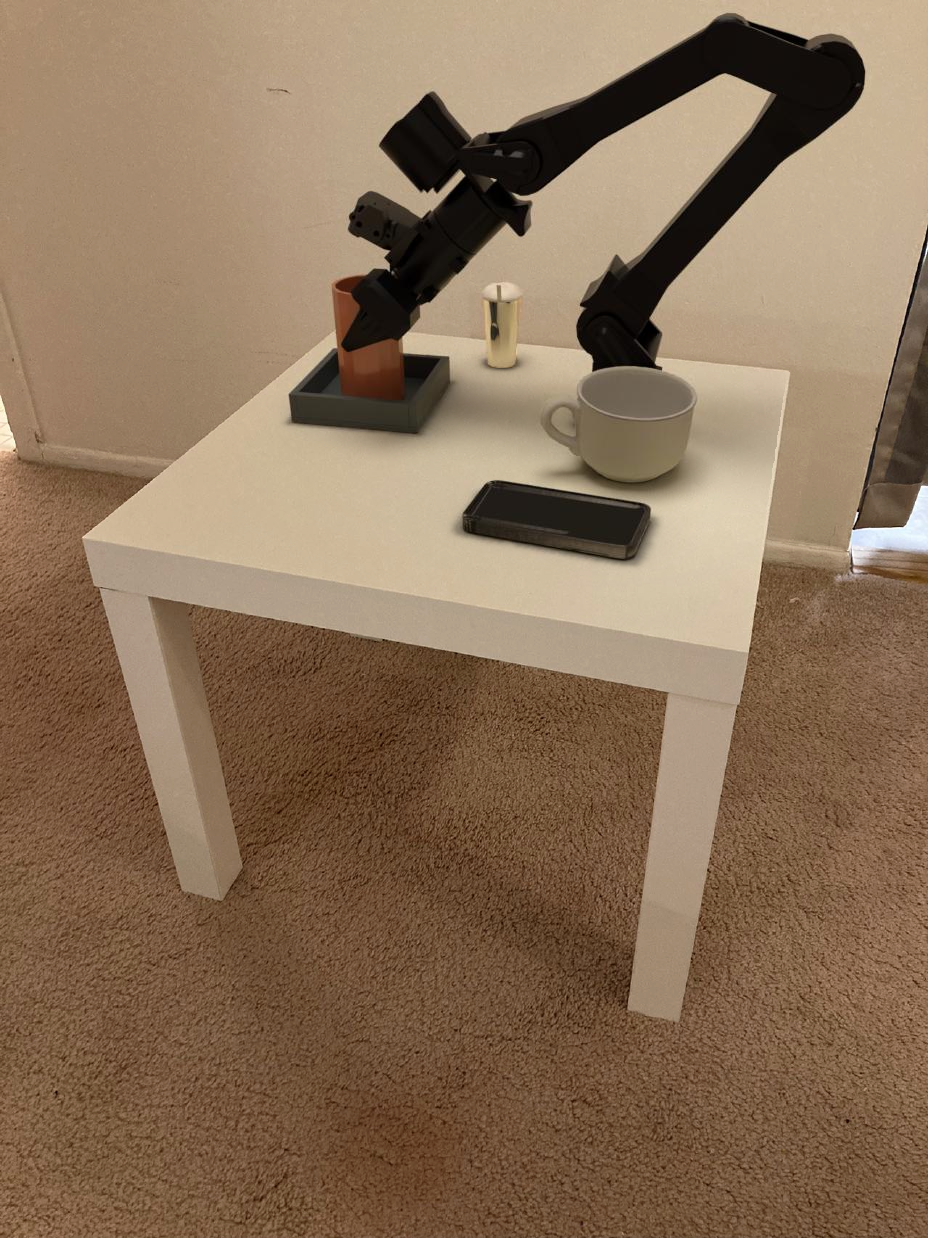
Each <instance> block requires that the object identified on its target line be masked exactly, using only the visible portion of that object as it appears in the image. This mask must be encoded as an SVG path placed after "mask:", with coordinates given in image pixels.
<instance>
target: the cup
mask: <svg viewBox="0 0 928 1238" xmlns="http://www.w3.org/2000/svg"><path fill="white" fill-rule="evenodd" d="M367 274H368V273H366V274H355V275H348V276H345V277H342V278H339V279H336V280H335V281H334V282H333V283H331V284H330V285H331V297H332V307H333V319H334V329H335V339H336V348H337V352H338V362H339V373H340V384H341V394H342V396H353V397H365V398H377V399H390V400H403V399H404V397H405V379H404V360H403V353H404V343H403V337H402V338H401V339H400V340H399V341H396V340H393V339H392V338H391V339H388V340H385V341H381V342H378V343H375V344H372V345H369V346H366V347H363V348H360V349H357V350H354V351H351V352H346V351H345V350H344V349H343V348H342V347H341V343H342V341H343V339H344V337H345V335H346V333H347V332H348V330H349V328H350V326H351V324H352V323H353V321H354V319H355V317H356V315H357V313H358V311H359V304H358V303H357V302H356V301H355V300H354V299H353V298H352V295H351V291H352V290H353V289H354V288H355V287H356V285H357V284H358V283H359V282H360V281H361V280H362V279H363V278H364V277H365V276H366V275H367Z"/></svg>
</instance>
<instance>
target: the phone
mask: <svg viewBox="0 0 928 1238" xmlns="http://www.w3.org/2000/svg"><path fill="white" fill-rule="evenodd" d="M651 513H652V508H651V506H650V505H649V504H647V503H645V502H640V501H635V500H634V501H633V500H627V499H621V498H614V497H609V496H602V495H596V494H589V493H584V492H583V493H582V492H576V491H570V490H565V489H564V490H563V489H557V488H553V487H552V488H551V487H545V486H540V485H534V484H527V483H521V482H514V481H508V480H500V479H493V480H489V481H487V482H485V483H484V484H483V485H482V487H481V488H480V490H479V491H478V492H477V493H476V495H475V496H474V498H473V499H472V500H471V501H470V502H469V504H468V505H467V507H466V508H465V510H464V511H463V512H462V528H463V530H464V531H466V532H469V533H473V534H479V535H485V536H489V537H496V538H501V539H507V540H512V541H517V542H518V541H519V542H524V543H530V544H535V545H541V546H546V547H553V548H558V549H563V550H569V551H575V552H581V553H587V554H592V555H597V556H602V557H608V558H615V559H630V558H633V557H634V556H635V555H636V554H637V552H638V549H639V547H640V544H641V542H642V541H643V539H644V536H645V534H646V531H647V529H648V527H649V524H650V522H651V515H652V514H651Z"/></svg>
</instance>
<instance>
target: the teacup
mask: <svg viewBox="0 0 928 1238" xmlns="http://www.w3.org/2000/svg"><path fill="white" fill-rule="evenodd" d="M576 395H577V399H576V398H575V397H573V396H570V395H567V394H557V395H553V396H552V397H550V398H549V399H548V400H547V401H545V403H544V404H543V406H542V408H541V410H540V415H539V420H540V425H541V427H542V429H543V431H544V432H545V434H547V436H548V437H549V438H550V439H551V440H553V441H554V442H556V443H558V444H559V445H562V446H563V447H566V448H568V449H569V451H570V453H571V454H572V455H574V456H580V458H582V460H583V461H584V462H585V463H586V464H587V465H588V466H589V467H591V468H592V469H593V470H594V471H595V472H596V473H598V474H599V475H601V476H602V477H604V478H606V479H609V480H612V481H616V482H620V483H621V482H622V483H631V484H632V483H643V482H644V483H645V482H648V481H651V480H654V479H657V478H658V477H660V476H662V475H663V474H665V473H668V472H669V471H671V470H673V468H675V467H676V466H677V465H678V464H679V463H680V461H681V460H682V458H683V457H684V454H685V453H686V450H687V446H688V443H689V438H690V434H691V428H692V421H693V416H694V409H695V406H696V404H697V402H698V401H697V400H698V395H697V391H696V389H695V387H694V386H693V385H691V384H690V383H689V381H687V380H685V379H683V378H682V377H681V376H678V375H676V374H673V373H670V372H668V371H664V370H662V371H661V370H657V369H653V368H646V367H636V366H620V367H611V368H605V369H600V370H597V371H594V372H592V371H591V372H590V373H588V374H586V375H585V376H583V377H582V378H581V379H580V380H579V382H578V384H577V386H576ZM564 408H565V409H568V410H569V411H570V412H571V415H572V419H573V421H574V423H575V424H574V425H575V426H574V427H575V428H574V434H575V435H574V436H573V435H571V434H567V433H565V432H563V431H560V430H559V429H558V428H557V427H556V426H555V425H554V424H553V422H552V419H553V415H554V413H555V412H556V411H557V410H559V409H564Z"/></svg>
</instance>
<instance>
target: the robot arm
mask: <svg viewBox="0 0 928 1238" xmlns="http://www.w3.org/2000/svg"><path fill="white" fill-rule="evenodd" d="M865 67H866V66H865V64H864V60H863V58H862V56H861V54H860V53H859V50H858V49H857V48H856V46H855V45H854V43H853V42H852V41H851V40H850V39H848V38H846V37H845V36H844V35H841V34H836V33H832V32H831V33H824V34H818V35H816V36H813V37H811V38H809V39H808V38H805V37H802V36H799V35H797V34H794V33H790V32H788V31H783V30H780V29H777V28H774V27H771V26H766V25H763V24H760V23H757V22H754V21H751V20H748V19H746V18H745V16H742V15H740V14H739V13H736V12H725V13H723V14H721V15H718V16H716V17H715V18H714V19H712V21H711V22H709V23H708V24H707V25H706V26H705V27H703V28H701V29H700V30H698V31H697V32H694V33H693V34H691V35H690V36H688V37H686V38H684V39H683V40H681V41H679V42H677V43H676V44H674V45H672V46H671V47H669V48H667V49H666V50H664V51H662V52H661V53H659V54H657V55H655V56H654V57H652V58H650V59H648V60H647V61H645V62H644V63H643V62H642V64H640V65H638V66H636V67H634V68H632V69H631V70H629V71H628V72H626V73H624V74H622V75H621V76H619V77H617V78H616V79H614V80H612V81H610V82H609V83H607V84H605V85H603V86H602V87H600V88H598V89H597V90H595V91H593V92H591V93H590V94H588V95H584V96H583V97H580V98H577V99H574V100H571V101H568V102H565V103H564V102H563V103H561V104H557V105H555V106H551V107H547V108H546V109H543V110H540V111H537V112H534V113H532V114H531V113H530V114H529V115H526V116H524V117H522V118H520V119H518V120H517V121H516V122H515V123H513V125H511V126H510V127H509V128H507V129H506V130H497V131H492V132H487V131H484V132H482V133H478V134H477V135H475V136H474V137H472V136H471V135H470V134H469V132H467V131H466V130H465V128H464V127H463V126H462V125H461V124H460V123H459V121H458V120H457V119H456V118H455V116H454V115H453V114H452V113H451V112H450V111H449V110H448V108H447V106H446V104H445V103H444V101H443V100H442V98H441V97H440V96H439V95H438V94H437V92H436V91H433V90H431V91H429V92H427V93H426V94H424V95H423V96H422V98H421V99H420V100H419V101H418V102H417V103H416V104H415V105H414V106H413V107H412V108H411V109H410V110H409V111H408V112H406V114H405V115H404V116H403V117H402V118H400V119H398V120H397V121H396V122H395V123H394V124H393V125H392V126H391V127H390V128H389V129H388V131H387V132H386V134H385V135H384V136H383V137H382V139H381V141H380V142H379V144H378V147H379V149H380V150H381V151H382V152H383V153H384V154H385V155H386V156H387V157H388V158H389V160H390V161H391V162H392V163H393V164H394V165H395V166H396V168H397V169H398V170H399V171H400V172H401V173H402V174H403V175H404V176H405V177H406V178H407V179H408V181H409V182H410V183H411V184H412V185H413V186H414V188H416V190H417V191H419V193H420V194H422V193H424V192H425V193H426V194H429V193H430V192H431V191H432V190H433V192H434V193H435V194H436V195H438V194H440V192H441V191H443V189H444V188H445V187H447V186H448V185H449V183H450V182H452V181H453V179H454V178H455V177H456V176H457V175H458V174H459V173H460V172H462V174H463V175H464V176H463V177H462V178H461V179H460V180H459V181H458V183H457V184H456V185H455V186H454V187H453V188H452V189H451V190H450V191H449V192H448V193H447V195H445V197H444V198H443V199H442V200H441V201H440V202H439V203H438V204H437V205H436V206H435V208H434V209H433V210H431V209H429V210H428V211H427V212H426V213H424V215H423V216H422V217H420V216H418V215H417V214H415V213H414V212H412V211H411V210H409V208H406V207H405V206H403V205H401V204H400V203H398V202H396V201H394V200H392V199H390V198H388V197H387V196H385V195H383V194H381V193H379V192H377V191H373V190H368V191H366V192H365V193H364V194H363V195H361V196H360V197H358V198H357V200H356V204H355V207H354V209H353V211H351V212H350V213H349V214H348V220H349V224H348V226H347V232H349V234H351V235H352V236H353V237H356V238H361V239H364V240H365V241H367V242H368V243H371V244H372V245H374V246H377V247H378V248H380V249H382V250H385V251H387V254H386V255H385V256H384V257H383V259H384V260H385V261H386V262H387V263H388V264H389V269H387V268H377V267H376V268H374V267H373V269H371V270H370V271H369V272H368V273H366V274H367V275H366V276H365V277H364V278H363V279H362V280H361V281H360V282H359V283H358V284H357V285H356V287H355V288H354V289H353V290H352V291H351V295H352V298H353V299H354V300H355V301H356V302H357V303H358V304H359V311H358V313H357V315H356V317H355V319H354V321H353V323H352V324H351V326H350V328H349V330H348V332H347V333H346V335H345V337H344V339H343V341H342V343H341V347H342V348H343V349H344V350H345V351H346V352H351V351H354V350H357V349H360V348H363V347H366V346H369V345H372V344H375V343H378V342H381V341H385V340H388V339H391V338H392V339H393V340H396V341H399V340H400V339H401V338H402V339H403V337H404V336H406V334H407V333H408V332H409V331H410V330H411V329H412V328H413V327H414V326H415V324H417V322H419V321H418V320H420V318H421V306H423V305H425V304H427V303H429V304H430V303H431V302H432V301H433V300H434V299H435V298H436V297H437V296H438V295H439V294H440V292H441V291H443V289H445V288H446V287H447V285H449V283H451V281H452V280H453V279H454V278H455V277H456V276H458V275H459V274H460V273H461V272H462V271H463V270H464V269H465V268H466V266H467V265H468V264H469V263H470V262H471V260H472V259H473V258H475V256H476V255H477V254H478V253H479V252H481V250H482V249H483V248H485V246H486V245H487V244H488V243H489V242H490V241H491V240H492V239H494V237H495V236H496V235H497V234H498V233H499V232H500V231H502V229H503V228H504V227H505V226H506V225H507V226H508V227H510V228H511V229H512V231H513V232H514V233H515V234H516V235H517V236H518V237H520V238H522V237H524V236H525V235H526V233H527V232H528V231H529V230H530V228H531V227H532V215H531V213H532V212H531V211H532V207H533V203H534V202H533V201H532V200H531V199H528V200H525V199H520V198H517V196H520V197H527V196H530V195H533V194H537V193H538V192H541V191H542V190H543V189H544V188H546V186H548V185H549V184H550V183H551V182H553V181H554V180H555V179H557V177H559V176H560V175H561V174H563V173H564V172H565V171H566V170H567V169H568V168H570V167H571V166H572V165H573V164H574V163H575V162H577V161H578V160H580V158H582V157H583V156H584V155H585V154H586V153H587V152H589V151H590V150H591V149H592V148H594V147H595V146H596V145H597V144H598V143H600V142H602V141H603V140H605V139H607V138H610V137H611V136H613V135H614V134H616V133H618V132H620V131H622V130H623V129H625V128H627V127H628V126H630V125H632V124H635V123H636V122H637V121H640V120H641V119H643V118H645V117H647V116H648V115H651V114H652V113H654V112H655V111H657V110H659V109H661V108H663V107H665V106H667V105H668V104H670V103H672V102H674V101H676V100H677V99H679V98H681V97H683V96H684V95H686V94H688V93H690V92H692V91H694V90H695V89H697V88H699V87H701V86H703V85H705V84H706V83H709V82H710V81H712V80H713V79H715V78H717V77H719V76H721V75H725V74H726V75H729V76H731V77H735V78H737V79H739V80H741V81H744V82H746V83H748V84H750V85H753V86H755V87H758V88H759V89H762V90H764V91H766V92H768V93H770V94H769V96H768V98H767V99H766V101H765V103H764V104H763V106H762V108H761V109H760V111H759V113H758V115H757V116H756V118H755V120H754V121H753V123H752V125H751V126H750V128H749V129H748V130H747V131H746V132H745V133H744V135H743V136H742V137H741V138H740V139H739V141H738V142H736V144H735V145H734V146H733V148H731V149H730V150H729V152H728V153H727V154H726V156H724V158H723V159H722V160H721V161H720V162H719V164H717V166H716V167H715V168H714V169H713V170H712V172H710V174H709V175H708V176H707V178H705V179H704V181H703V182H702V183H701V184H700V186H698V188H697V189H696V190H695V191H694V192H693V193H692V195H691V196H690V197H689V198H688V200H686V202H685V203H684V204H683V205H682V206H681V207H680V209H679V210H678V211H677V212H676V213H675V214H674V215H673V217H672V218H671V219H670V220H669V222H667V224H666V225H665V226H663V228H662V229H661V231H660V232H659V233H658V234H657V235H656V236H655V238H653V240H652V241H651V242H650V243H649V245H647V247H646V248H645V249H644V250H643V251H642V252H640V254H638V255H636V257H634V258H632V259H631V260H629V261H628V262H627V263H625V262H624V261H623V259H622V258H621V257H620V256H619V254H614V256H613V257H612V259H611V261H610V262H609V264H608V266H607V268H606V270H605V271H604V273H602V274H601V275H600V276H599V277H598V278H597V279H595V280H593V281H591V282H590V283H589V284H588V286H587V289H586V291H585V293H584V295H583V296H582V299H581V300H580V303H579V307H581V308H582V310H581V312H580V313H579V316H578V318H577V321H576V325H575V330H576V331H575V332H576V338H577V340H578V344H579V345H580V347H581V348H582V349H583V351H584V352H586V353H587V355H590V357H591V360H592V363H591V364H592V366H591V373H592V372H594V371H597V370H600V369H605V368H611V367H620V366H636V367H646V368H653V369H657V370H661V371H663V366H660V365H657V363H656V360H657V357H658V354H659V349H660V346H661V341H662V338H663V331H662V330H660V328H658V326H657V325H656V324H655V323H654V322H653V320H652V319H651V317H652V315H653V314H654V312H655V310H656V309H657V307H658V305H659V303H660V302H661V300H662V298H663V296H664V295H665V293H666V291H667V290H668V288H669V287H670V285H671V284H673V282H674V281H675V280H676V279H677V278H678V277H679V276H680V274H681V273H683V271H684V270H685V269H686V268H687V267H688V266H689V265H690V264H691V263H692V261H694V259H695V258H696V257H697V256H698V254H699V253H700V252H702V250H703V249H704V248H705V247H706V246H707V245H708V244H709V243H710V241H711V240H712V239H713V238H714V237H715V236H716V235H717V234H718V233H719V231H720V230H721V229H722V228H724V227H725V225H726V224H727V223H728V222H729V220H731V219H732V217H733V216H734V215H735V214H736V213H737V212H738V211H739V210H740V208H741V207H743V206H744V204H745V203H746V202H747V201H748V200H749V199H750V197H752V195H754V193H755V192H756V191H757V190H758V189H759V188H760V186H761V185H763V183H764V182H765V181H766V180H767V179H768V178H769V177H770V176H771V174H773V172H774V171H775V170H776V169H777V168H778V167H779V165H781V164H782V163H783V162H784V161H785V160H787V159H788V158H790V157H791V156H792V155H795V153H797V152H799V151H800V150H801V149H803V148H804V147H806V146H807V145H809V144H810V143H812V142H813V141H815V140H816V139H818V137H820V136H821V135H822V134H824V133H825V132H826V131H827V130H828V129H830V128H831V127H832V126H833V125H835V124H836V123H837V122H838V121H840V120H841V119H842V118H844V117H845V116H846V115H848V114H849V112H850V111H852V110H853V108H854V107H855V105H857V103H858V101H859V100H860V99H861V96H862V94H863V92H864V89H865V83H866V68H865ZM494 180H495V181H494ZM516 195H517V196H516Z"/></svg>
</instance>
